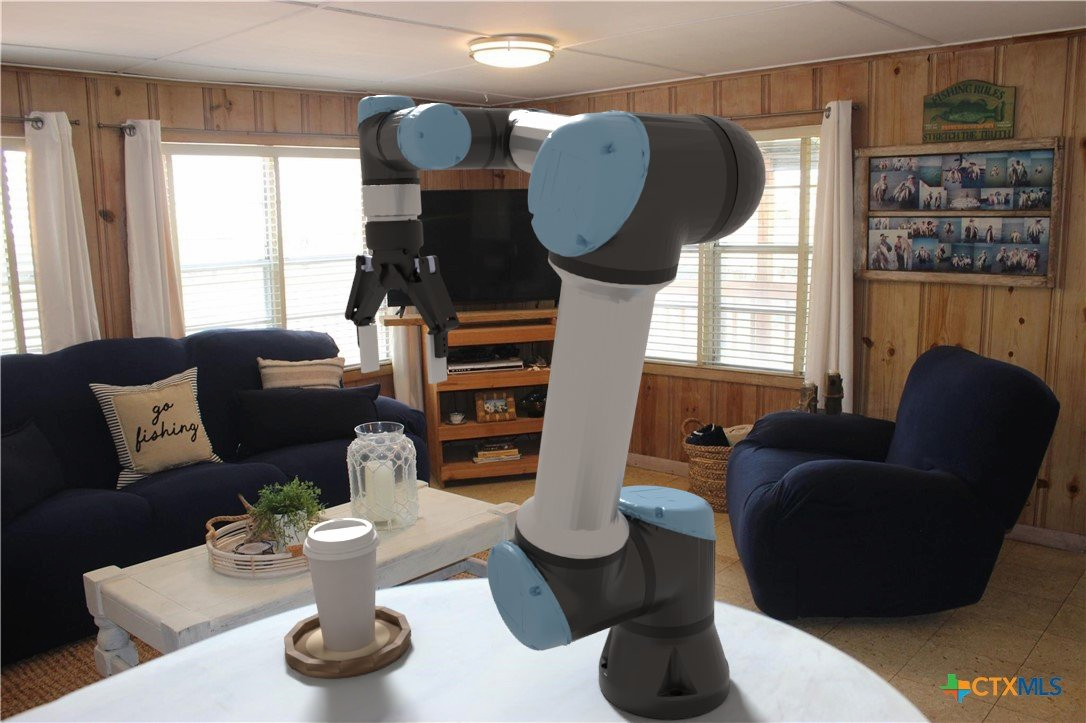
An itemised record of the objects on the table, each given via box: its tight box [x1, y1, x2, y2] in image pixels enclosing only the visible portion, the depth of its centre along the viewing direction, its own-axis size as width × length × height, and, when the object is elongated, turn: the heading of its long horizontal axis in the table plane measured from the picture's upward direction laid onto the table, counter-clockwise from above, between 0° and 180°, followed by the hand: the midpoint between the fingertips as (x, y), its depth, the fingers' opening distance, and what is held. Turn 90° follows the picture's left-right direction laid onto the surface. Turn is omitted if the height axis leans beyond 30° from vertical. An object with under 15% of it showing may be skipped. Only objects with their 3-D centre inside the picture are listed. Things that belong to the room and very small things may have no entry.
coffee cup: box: [302, 517, 381, 652], centre depth 114 cm, size 10×10×15 cm
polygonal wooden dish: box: [283, 605, 412, 680], centre depth 116 cm, size 16×16×2 cm
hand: (403, 376), depth 122 cm, fingers open, 13 cm apart
